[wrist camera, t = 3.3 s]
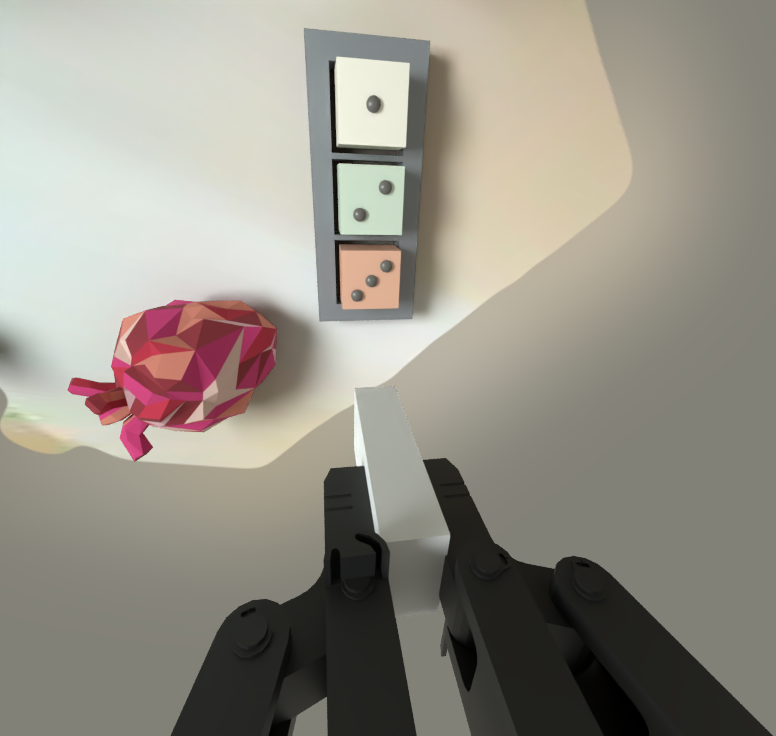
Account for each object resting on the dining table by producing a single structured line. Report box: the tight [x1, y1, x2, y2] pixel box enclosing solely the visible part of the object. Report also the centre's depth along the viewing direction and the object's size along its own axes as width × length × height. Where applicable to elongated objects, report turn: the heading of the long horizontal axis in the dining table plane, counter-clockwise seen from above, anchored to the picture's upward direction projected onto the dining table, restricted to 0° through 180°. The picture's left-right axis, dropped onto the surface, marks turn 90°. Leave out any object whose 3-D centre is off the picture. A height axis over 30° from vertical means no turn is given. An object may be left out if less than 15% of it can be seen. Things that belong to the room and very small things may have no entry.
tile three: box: [339, 244, 401, 309], centre depth 40 cm, size 6×6×4 cm
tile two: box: [337, 163, 405, 235], centre depth 36 cm, size 6×6×4 cm
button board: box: [304, 28, 430, 321], centre depth 39 cm, size 11×26×3 cm, turn 178°
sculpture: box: [68, 300, 277, 462], centre depth 39 cm, size 14×12×20 cm
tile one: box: [335, 57, 410, 150], centre depth 33 cm, size 6×6×4 cm
